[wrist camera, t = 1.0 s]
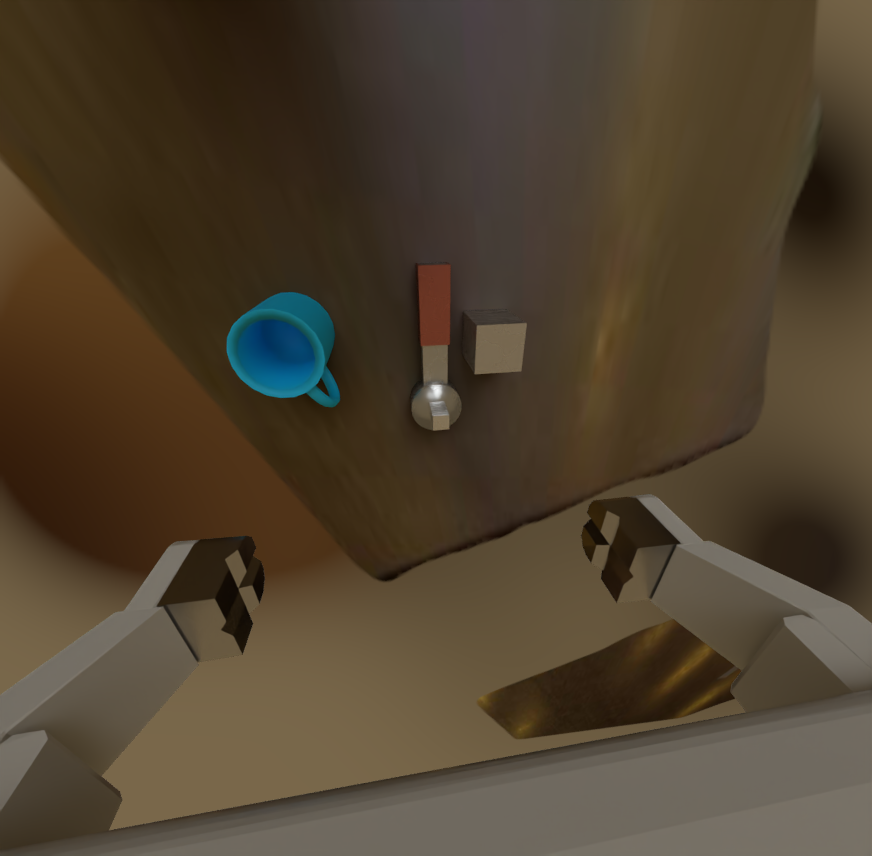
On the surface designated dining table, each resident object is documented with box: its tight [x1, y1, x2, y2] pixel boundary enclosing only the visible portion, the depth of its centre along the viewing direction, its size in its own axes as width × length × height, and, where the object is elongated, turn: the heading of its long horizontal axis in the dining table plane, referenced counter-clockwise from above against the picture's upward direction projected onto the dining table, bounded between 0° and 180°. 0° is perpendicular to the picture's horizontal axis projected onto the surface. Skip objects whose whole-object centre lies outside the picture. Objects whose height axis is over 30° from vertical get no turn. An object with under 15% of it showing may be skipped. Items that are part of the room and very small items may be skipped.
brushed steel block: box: [462, 309, 527, 374], centre depth 38 cm, size 5×5×6 cm
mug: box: [227, 292, 340, 407], centre depth 35 cm, size 12×8×8 cm
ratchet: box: [410, 262, 462, 430], centre depth 38 cm, size 18×6×6 cm, turn 1°
